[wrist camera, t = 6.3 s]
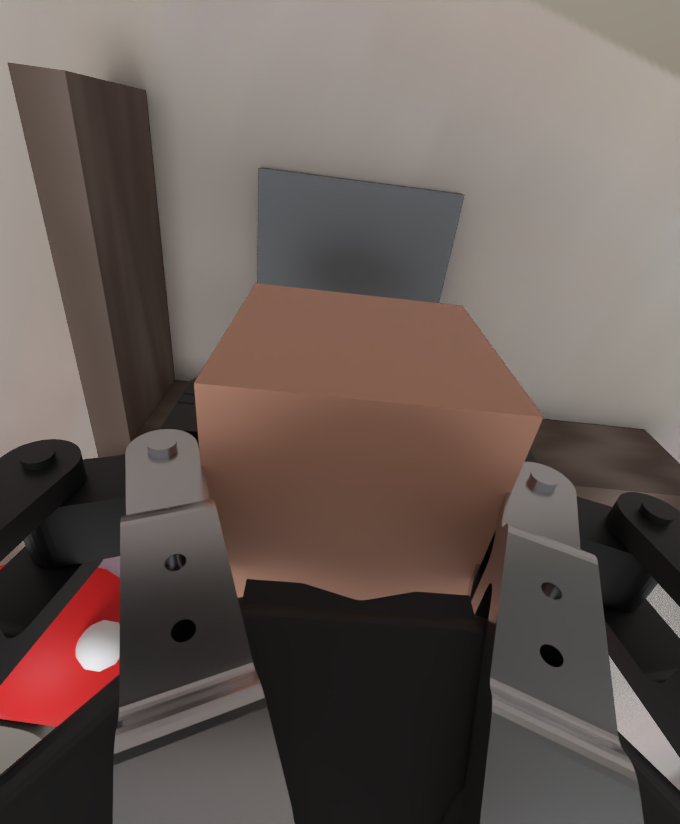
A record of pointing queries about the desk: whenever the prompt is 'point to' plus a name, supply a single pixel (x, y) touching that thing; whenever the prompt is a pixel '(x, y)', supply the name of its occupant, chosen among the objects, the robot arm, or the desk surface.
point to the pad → (354, 235)
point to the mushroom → (69, 655)
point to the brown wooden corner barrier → (146, 294)
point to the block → (358, 441)
